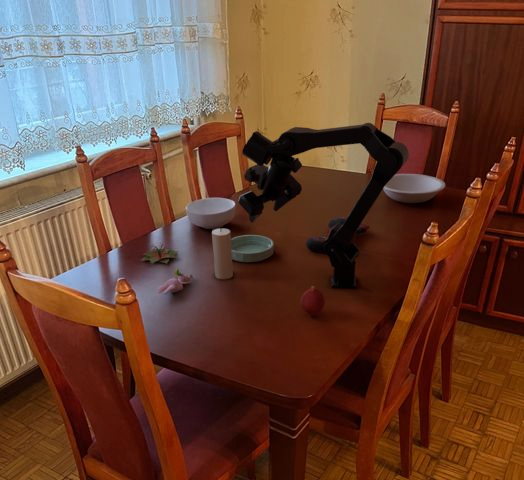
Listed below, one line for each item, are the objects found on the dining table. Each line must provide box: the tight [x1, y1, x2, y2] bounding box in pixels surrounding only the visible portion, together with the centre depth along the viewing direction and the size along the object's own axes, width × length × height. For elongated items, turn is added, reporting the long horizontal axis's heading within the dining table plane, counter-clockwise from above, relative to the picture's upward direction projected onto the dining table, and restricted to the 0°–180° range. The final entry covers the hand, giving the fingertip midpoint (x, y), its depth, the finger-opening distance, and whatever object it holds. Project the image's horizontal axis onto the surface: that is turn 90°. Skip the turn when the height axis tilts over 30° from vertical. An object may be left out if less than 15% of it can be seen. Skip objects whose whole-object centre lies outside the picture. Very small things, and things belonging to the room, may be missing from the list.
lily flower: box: [141, 242, 179, 265], centre depth 164 cm, size 12×12×5 cm
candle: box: [211, 227, 234, 280], centre depth 150 cm, size 5×5×14 cm
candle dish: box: [231, 234, 275, 263], centre depth 165 cm, size 14×14×3 cm
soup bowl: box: [382, 173, 446, 204], centre depth 201 cm, size 24×24×7 cm
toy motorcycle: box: [305, 217, 370, 253], centre depth 171 cm, size 25×5×16 cm
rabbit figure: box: [157, 268, 194, 295], centre depth 145 cm, size 6×6×15 cm
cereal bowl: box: [185, 197, 237, 230], centre depth 185 cm, size 17×17×7 cm
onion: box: [300, 285, 326, 317], centre depth 132 cm, size 6×6×8 cm
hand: (263, 215), depth 153 cm, fingers open, 9 cm apart
